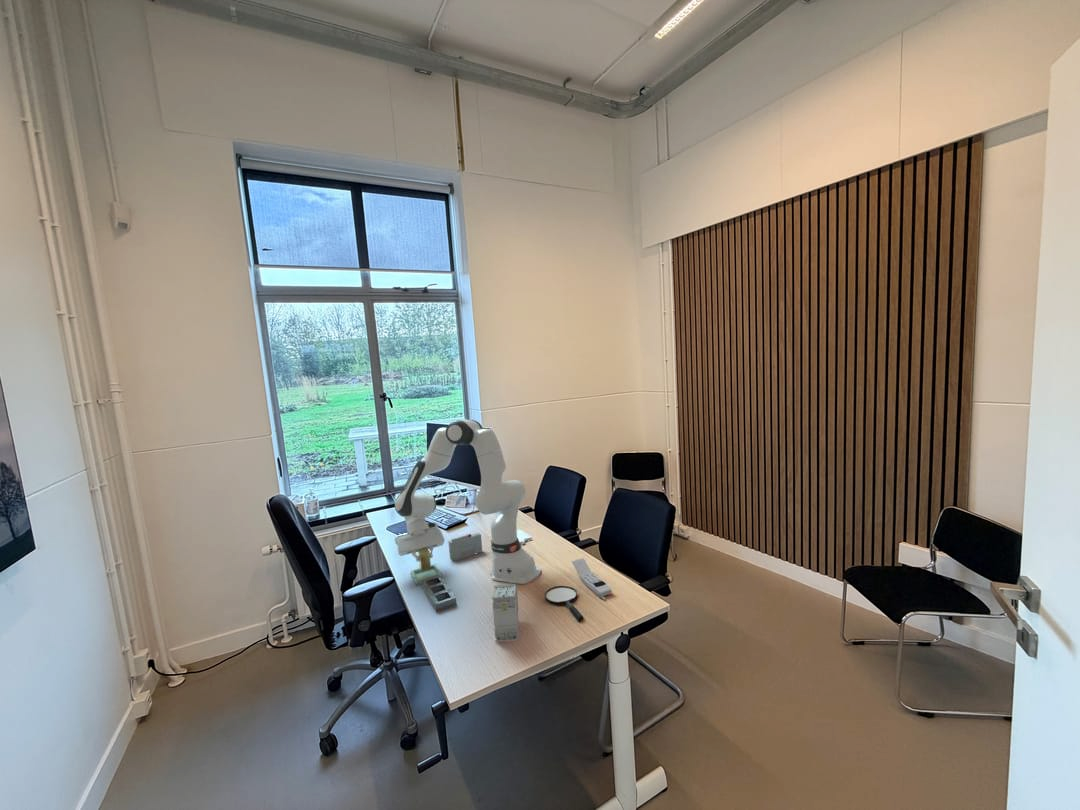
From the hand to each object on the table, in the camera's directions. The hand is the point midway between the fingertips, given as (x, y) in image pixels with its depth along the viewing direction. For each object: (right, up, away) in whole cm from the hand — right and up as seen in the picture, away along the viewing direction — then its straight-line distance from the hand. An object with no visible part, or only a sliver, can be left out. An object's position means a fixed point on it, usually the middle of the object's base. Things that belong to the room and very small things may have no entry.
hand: (424, 559), depth 188 cm
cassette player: (+15, -6, +20) cm, 26 cm away
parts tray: (0, -8, +1) cm, 8 cm away
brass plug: (0, -5, +1) cm, 5 cm away
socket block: (+10, -9, -16) cm, 21 cm away
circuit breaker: (+39, -9, -40) cm, 57 cm away
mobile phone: (+72, -5, -15) cm, 73 cm away
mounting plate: (+37, -3, +36) cm, 52 cm away
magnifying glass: (+61, -7, -28) cm, 67 cm away
